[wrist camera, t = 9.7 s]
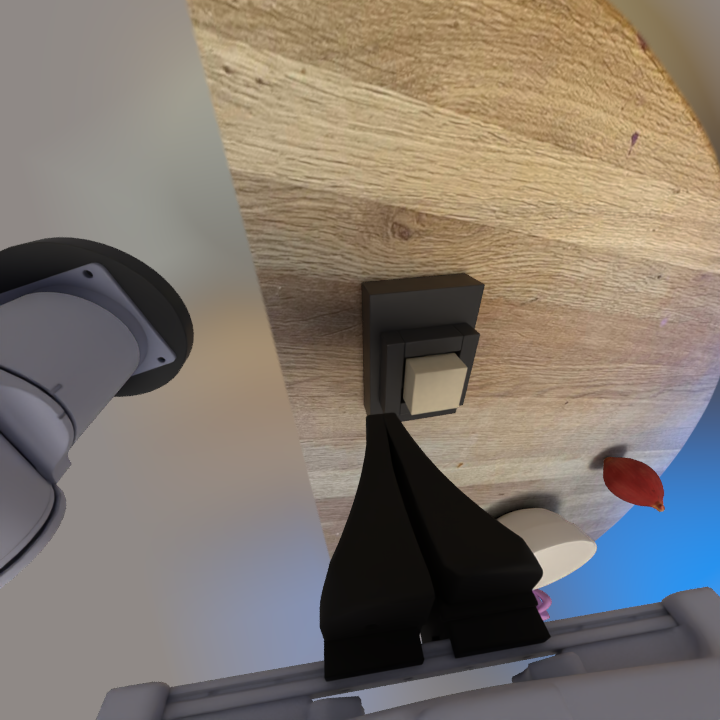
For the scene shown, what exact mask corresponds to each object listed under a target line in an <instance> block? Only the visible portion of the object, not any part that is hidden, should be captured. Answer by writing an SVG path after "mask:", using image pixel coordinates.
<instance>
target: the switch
mask: <svg viewBox="0 0 720 720" xmlns="http://www.w3.org/2000/svg"><path fill="white" fill-rule="evenodd" d="M466 373H467V366H466V365H465V364H464V363H463V362H462V361H461V359H460V358H459V357H458V356H457V355H456V354H455V353H445V354H437V355H430V356H422V357H414V358H407V359H406V365H405V378H404V390H403V399H404V401H405V403H406V405H407V407H408V409H409V411H410V413H411V415H415V414H421V413H427V412H434V411H440V410H446V409H453V408H458V407H459V403H460V398H461V394H462V390H463V385H464V381H465V377H466Z"/></svg>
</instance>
